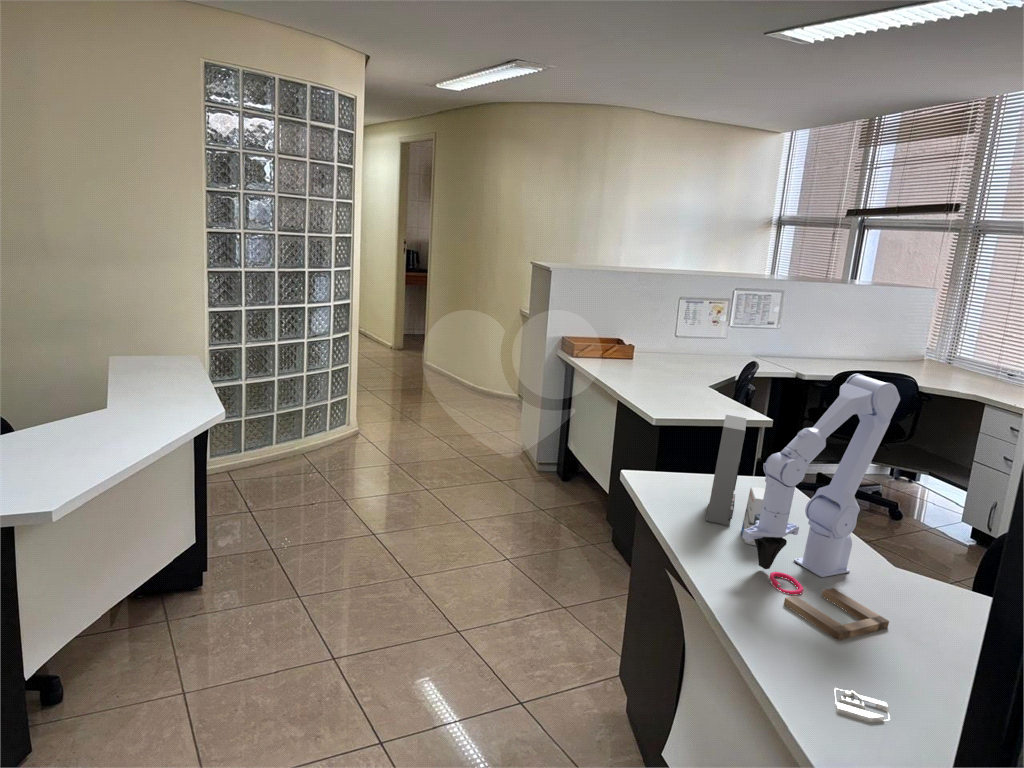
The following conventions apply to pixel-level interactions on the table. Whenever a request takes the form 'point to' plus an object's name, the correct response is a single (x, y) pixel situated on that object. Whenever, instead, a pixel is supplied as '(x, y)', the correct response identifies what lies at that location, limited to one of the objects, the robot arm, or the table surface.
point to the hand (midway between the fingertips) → (764, 567)
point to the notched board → (832, 627)
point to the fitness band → (779, 574)
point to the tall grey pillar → (726, 471)
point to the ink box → (753, 509)
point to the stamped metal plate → (857, 712)
